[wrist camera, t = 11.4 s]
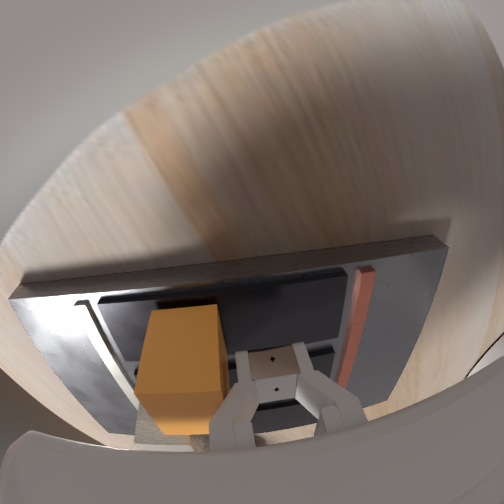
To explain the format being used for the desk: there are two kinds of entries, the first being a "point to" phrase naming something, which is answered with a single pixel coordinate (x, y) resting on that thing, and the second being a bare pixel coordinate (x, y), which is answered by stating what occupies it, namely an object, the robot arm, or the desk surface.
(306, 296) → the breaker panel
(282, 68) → the desk surface
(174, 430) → the toggle
